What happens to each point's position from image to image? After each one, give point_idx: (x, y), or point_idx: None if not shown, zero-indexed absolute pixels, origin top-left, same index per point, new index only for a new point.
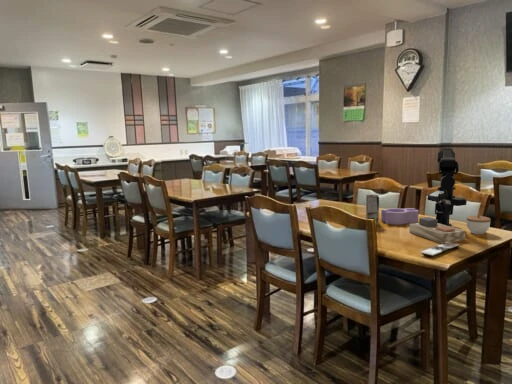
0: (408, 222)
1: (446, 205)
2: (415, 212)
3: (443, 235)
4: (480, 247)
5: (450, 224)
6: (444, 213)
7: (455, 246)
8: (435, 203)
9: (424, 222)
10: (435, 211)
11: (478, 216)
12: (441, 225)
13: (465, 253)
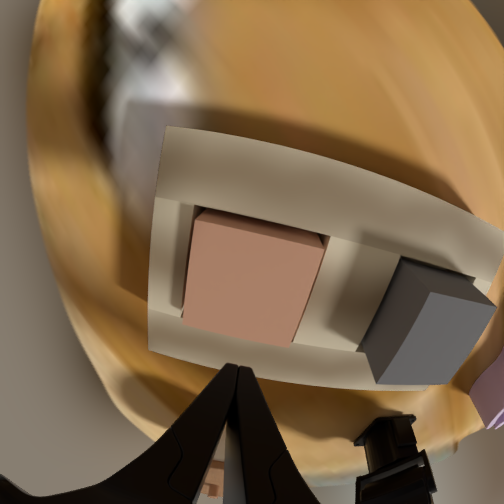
0: (498, 358)
1: (15, 488)
2: (496, 409)
3: (168, 136)
4: (57, 245)
5: (355, 443)
6: (227, 400)
7: (112, 150)
8: (436, 491)
9: (449, 285)
10: (425, 459)
11: (211, 490)
12: (340, 367)
13: (40, 100)
